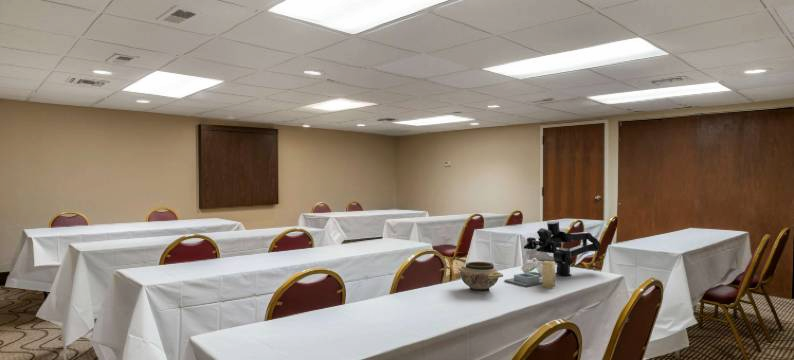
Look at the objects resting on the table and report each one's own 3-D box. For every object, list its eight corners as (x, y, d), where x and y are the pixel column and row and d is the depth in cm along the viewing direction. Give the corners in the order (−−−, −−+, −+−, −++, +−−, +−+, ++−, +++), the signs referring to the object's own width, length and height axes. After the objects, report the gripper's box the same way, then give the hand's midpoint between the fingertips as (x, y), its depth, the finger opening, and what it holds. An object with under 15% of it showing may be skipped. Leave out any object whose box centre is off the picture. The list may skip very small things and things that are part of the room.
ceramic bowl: (508, 299, 214) (513, 267, 217) (485, 295, 203) (491, 262, 206) (468, 289, 233) (473, 260, 235) (445, 285, 222) (451, 255, 224)
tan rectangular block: (544, 285, 231) (545, 260, 230) (555, 286, 228) (555, 261, 228) (542, 287, 226) (542, 262, 226) (552, 288, 224) (552, 263, 224)
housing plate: (527, 277, 248) (527, 271, 248) (548, 282, 236) (548, 275, 236) (504, 281, 238) (504, 274, 238) (525, 287, 226) (525, 280, 226)
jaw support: (549, 267, 260) (545, 257, 254) (546, 280, 255) (542, 270, 249) (528, 265, 267) (524, 255, 261) (525, 278, 261) (521, 268, 256)
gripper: (536, 225, 257) (515, 232, 250) (562, 229, 241) (541, 236, 233) (538, 244, 258) (518, 251, 251) (565, 249, 242) (544, 257, 234)
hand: (530, 248), depth 242 cm, fingers open, 9 cm apart
